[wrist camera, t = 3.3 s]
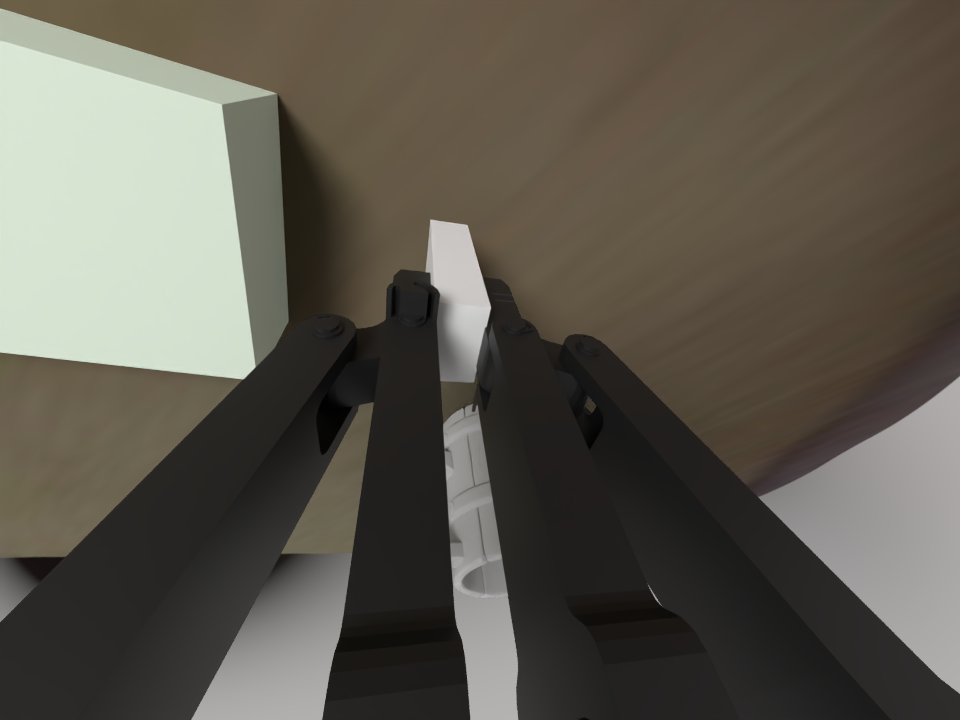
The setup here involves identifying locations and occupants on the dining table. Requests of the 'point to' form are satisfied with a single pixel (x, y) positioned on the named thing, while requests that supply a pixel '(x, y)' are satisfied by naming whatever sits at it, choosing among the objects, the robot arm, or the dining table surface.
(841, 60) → the dining table surface
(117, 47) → the pale green block
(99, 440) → the dining table surface
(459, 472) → the mug
